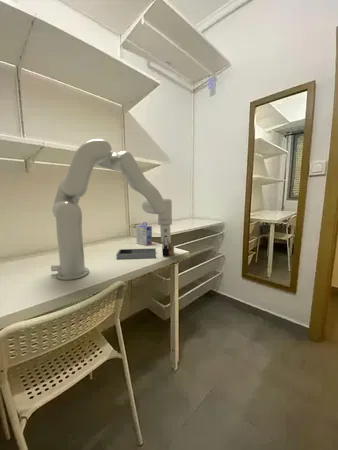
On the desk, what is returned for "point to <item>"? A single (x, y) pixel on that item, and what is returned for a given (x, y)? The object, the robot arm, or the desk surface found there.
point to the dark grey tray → (136, 253)
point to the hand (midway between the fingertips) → (165, 253)
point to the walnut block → (171, 250)
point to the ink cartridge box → (144, 234)
